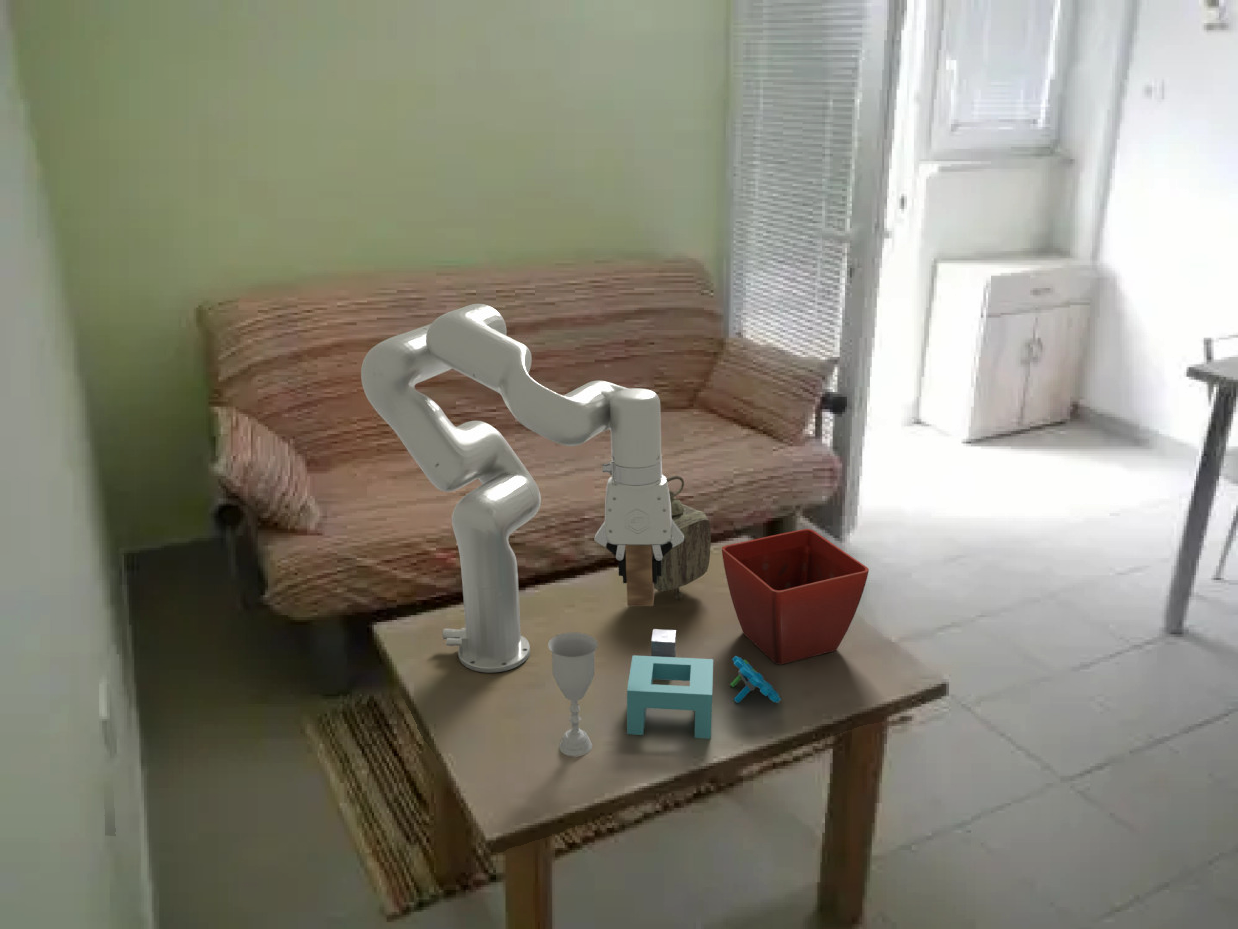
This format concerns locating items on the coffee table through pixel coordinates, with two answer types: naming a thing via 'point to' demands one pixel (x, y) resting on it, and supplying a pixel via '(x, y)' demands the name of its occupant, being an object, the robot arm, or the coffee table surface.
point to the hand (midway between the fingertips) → (640, 578)
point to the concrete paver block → (663, 643)
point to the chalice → (573, 682)
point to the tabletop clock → (685, 547)
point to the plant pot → (793, 593)
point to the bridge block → (670, 690)
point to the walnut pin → (639, 575)
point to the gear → (752, 681)
